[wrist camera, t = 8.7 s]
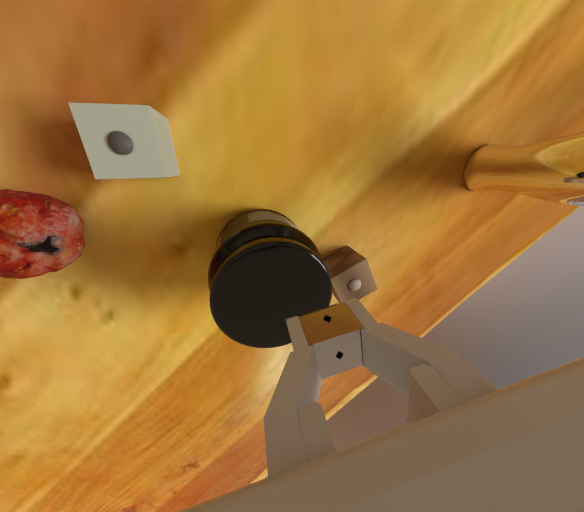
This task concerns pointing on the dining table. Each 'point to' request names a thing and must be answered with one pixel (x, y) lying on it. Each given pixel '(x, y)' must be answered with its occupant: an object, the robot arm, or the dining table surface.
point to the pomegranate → (37, 234)
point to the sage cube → (125, 140)
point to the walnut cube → (349, 274)
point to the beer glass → (532, 169)
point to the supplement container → (265, 278)
